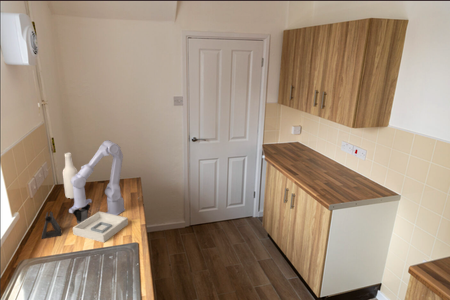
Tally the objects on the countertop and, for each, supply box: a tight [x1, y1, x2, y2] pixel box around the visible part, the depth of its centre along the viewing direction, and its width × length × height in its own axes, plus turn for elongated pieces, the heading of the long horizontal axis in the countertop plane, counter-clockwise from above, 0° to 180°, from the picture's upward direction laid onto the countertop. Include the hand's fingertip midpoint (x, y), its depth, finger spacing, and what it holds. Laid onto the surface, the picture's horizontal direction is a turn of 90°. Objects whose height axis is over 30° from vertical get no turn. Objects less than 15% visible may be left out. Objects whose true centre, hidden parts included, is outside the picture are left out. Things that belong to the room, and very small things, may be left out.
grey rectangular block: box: [76, 208, 89, 224], centre depth 172 cm, size 4×4×7 cm
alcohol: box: [62, 152, 79, 200], centre depth 201 cm, size 9×9×30 cm
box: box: [72, 211, 129, 243], centre depth 166 cm, size 20×20×4 cm
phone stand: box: [40, 211, 62, 240], centre depth 159 cm, size 9×6×12 cm, turn 115°
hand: (82, 219), depth 173 cm, fingers closed on grey rectangular block, 4 cm apart
